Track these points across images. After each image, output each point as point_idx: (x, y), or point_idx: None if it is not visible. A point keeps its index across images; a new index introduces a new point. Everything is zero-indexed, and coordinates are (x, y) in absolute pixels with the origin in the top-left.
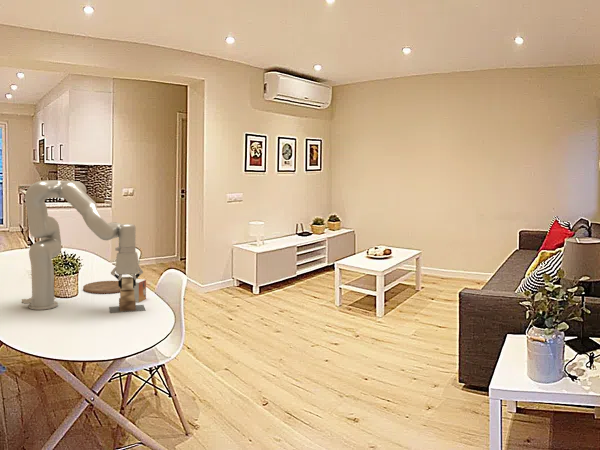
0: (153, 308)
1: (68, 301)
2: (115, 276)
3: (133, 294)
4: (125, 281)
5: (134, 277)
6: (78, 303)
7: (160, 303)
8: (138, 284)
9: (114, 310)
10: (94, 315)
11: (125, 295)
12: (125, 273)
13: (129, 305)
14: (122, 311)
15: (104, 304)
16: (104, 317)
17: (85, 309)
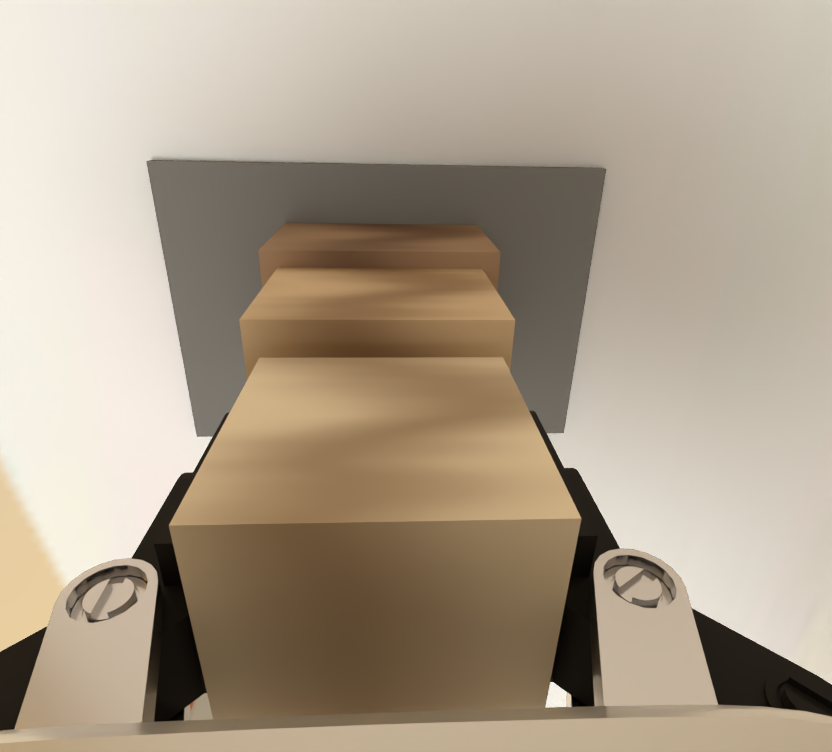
0: (66, 284)
1: (821, 660)
2: (822, 681)
3: (272, 300)
4: (444, 467)
5: (112, 624)
6: (772, 602)
7: (13, 465)
8: (192, 719)
9: (534, 277)
10: (782, 156)
11: (421, 295)
12: (500, 748)
13: (358, 237)
14: (449, 206)
15: None
16: (703, 10)
17: (785, 419)
